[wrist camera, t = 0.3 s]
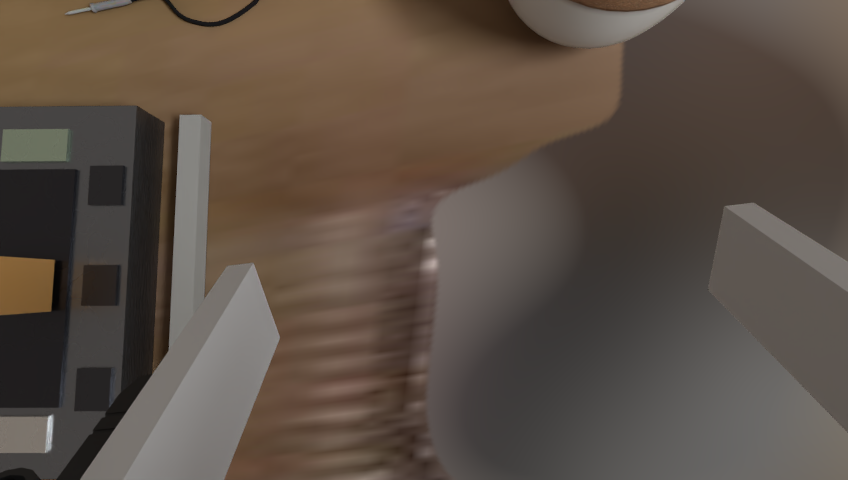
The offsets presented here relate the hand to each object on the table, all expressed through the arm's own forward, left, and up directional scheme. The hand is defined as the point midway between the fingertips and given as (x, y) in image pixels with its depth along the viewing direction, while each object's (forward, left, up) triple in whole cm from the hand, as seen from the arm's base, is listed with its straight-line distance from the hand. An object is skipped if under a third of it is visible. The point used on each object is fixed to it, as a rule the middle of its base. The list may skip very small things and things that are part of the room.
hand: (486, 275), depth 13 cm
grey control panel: (0, +26, -17) cm, 31 cm away
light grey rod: (-1, +17, -17) cm, 24 cm away
